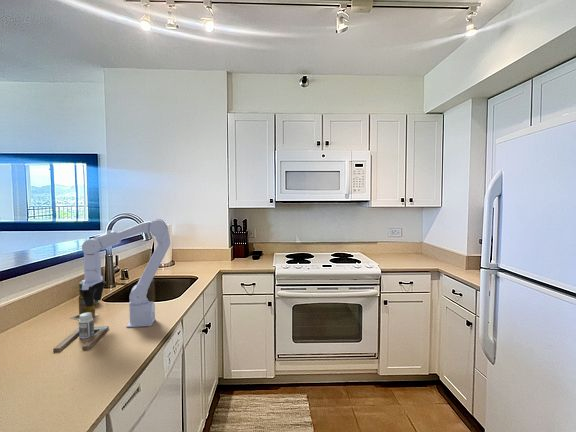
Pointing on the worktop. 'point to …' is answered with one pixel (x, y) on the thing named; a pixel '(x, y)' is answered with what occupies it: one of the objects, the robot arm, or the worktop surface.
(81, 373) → the worktop surface
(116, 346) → the worktop surface
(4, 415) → the worktop surface
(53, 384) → the worktop surface
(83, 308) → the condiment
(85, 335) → the pill bottle
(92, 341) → the guide channel
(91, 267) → the robot arm
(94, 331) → the panel
